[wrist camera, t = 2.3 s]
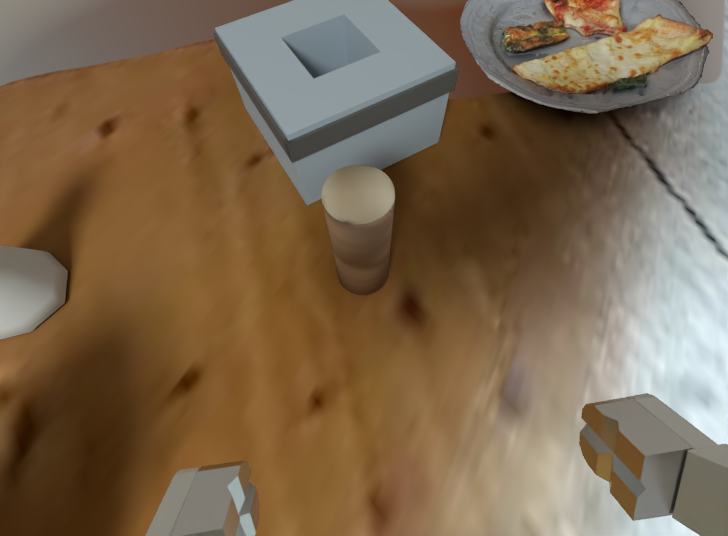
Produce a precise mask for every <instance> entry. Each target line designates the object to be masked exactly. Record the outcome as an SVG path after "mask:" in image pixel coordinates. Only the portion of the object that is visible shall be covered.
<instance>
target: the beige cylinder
mask: <svg viewBox="0 0 728 536" xmlns="http://www.w3.org/2000/svg"><path fill="white" fill-rule="evenodd" d="M321 198H322V203H323V208H324V212H325V217H326V222H327V226H328V231H329V235H330V240H331V245H332V249H333V254H334V259H335V263H336V268H337V272H338V277H339V280H340V282H341V284H342V285H343V287H344V288H345V289H347V290H348V291H350V292H352V293H354V294H358V295H367V294H371V293H374V292H376V291H378V290H379V289H380V288H382V286H383V285H384V284H385V282H386V280H387V278H388V271H389V259H390V248H391V236H392V225H393V214H394V202H395V188H394V185H393V183H392V181H391V179H390V178H389V177H388V176H387V175H386V174H385V173H384V172H383V171H381V170H379V169H377V168H375V167H372V166H368V165H350V166H346V167H343V168H341V169H339V170H337V171H335V172H334V173H333V174H331V175H330V176H329V177H328V179H327V180H326V181H325V183H324V185H323V188H322V193H321Z"/></svg>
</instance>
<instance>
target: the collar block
mask: <svg viewBox="0 0 728 536" xmlns="http://www.w3.org/2000/svg"><path fill="white" fill-rule="evenodd" d="M215 30H216V32H217V33H214V37H215V39H216V42H217V44H218V47H219V49H220V52H221V54H222V56H223V58H224V59H225V61H226V62H227V64H228V65H229V67H230V69H231V71H232V74H233V76H234V79H235V82H236V84H237V87H238V89H239V92H240V95H241V97H242V100H243V102H244V105H245V108H246V110H247V111H248V113H249V115H250V116H251V118H252V119H253V121H254V122H255V124H256V126H257V127H258V129H259V130H260V132H261V134H262V135H263V137H264V138H265V140H266V141H267V143H268V145H269V146H270V148H271V149H272V151H273V153H274V154H275V156H276V157H277V159H278V160H279V162H280V164H281V165H282V167H283V168H284V170H285V172H286V173H287V175H288V176H289V178H290V179H291V181H292V183H293V184H294V186H295V187H296V189H297V191H298V192H299V194H300V195H301V197H302V199H303V200H304V202H305V203H306V205H309V204H311V203H313V202H315V201H318V200H320V199H322V198H321V193H322V188H323V185H324V183H325V181H326V180H327V179H328V177H329V176H330V175H331V174H333V173H334V172H335V171H337V170H339V169H341V168H343V167H346V166H350V165H368V166H372V167H375V168H377V169H379V170H382V169H384V168H386V167H388V166H390V165H392V164H394V163H396V162H398V161H401V160H403V159H405V158H407V157H409V156H411V155H413V154H415V153H417V152H419V151H421V150H423V149H425V148H428V147H430V146H432V145H434V144H436V143H438V142H439V137H440V133H441V128H442V124H443V119H444V115H445V110H446V105H447V101H448V96H449V92H451V91H453V90H454V89H455V85H456V81H457V76H458V72H459V69H458V68H457V67H456V66H455V64H456V62H455V61H454V60H453V59H452V58H450V57H449V56H448V55H447V54H446V53H445V52H444V51H443V50H442V49H441V48H440V47H438V46H437V45H436V44H435V43H434V42H433V41H432V40H431V39H429V37H427V36H426V35H425V34H424V33H423V32H422V31H421V30H420V29H419V28H418V27H416V26H415V25H414V24H413V23H412V22H411V21H410V20H409V19H408V18H407V17H405V16H404V15H403V14H402V13H401V12H400V11H399V10H398V9H397V8H396V7H394V5H392V4H391V3H390V2H389V1H388V0H294V1H291V2H288V3H285V4H282V5H279V6H277V7H274V8H271V9H268V10H265V11H262V12H260V13H257V14H254V15H251V16H248V17H245V18H243V19H240V20H237V21H234V22H231V23H228V24H226V25H222V26H220V27H217V28H215Z"/></svg>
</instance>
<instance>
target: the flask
mask: <svg viewBox="0 0 728 536" xmlns="http://www.w3.org/2000/svg"><path fill="white" fill-rule="evenodd" d="M67 276H68V270H67V269H66V268H65V267H64V266H63V265H62V264H61V263H59V262H58V261H57V260H56V259H55V258H54V257H53V256H52V255H51V254H50V253H49V252H46V251H40V250H33V249H26V248H19V247H11V246H4V245H0V340H1V339H5V338H9V337H13V336H17V335H21V334H25V333H29V332H31V331H33V330H34V329H35V328H36V327H37V326H38V325H40V324H41V323H42V322H43V321H44V320H46V319H47V318H48V317H49V316H50V315H51V314H53V313H54V312H55V311H56V310H57V309H58V308H60V307H61V306H62V305H63V304H64V303H65V297H66V286H67Z"/></svg>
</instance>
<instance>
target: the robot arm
mask: <svg viewBox="0 0 728 536" xmlns="http://www.w3.org/2000/svg"><path fill="white" fill-rule="evenodd" d="M582 419H583V420H584V421H585V422H586V423H587V424H586V425H585V427H584V428H583V429H582V430H581V432H580V442H579V444H580V447H581V450H582V454H583V456H584V458H585V460H586V462H587V463H588V465H589V466H590V468H591V469H592V470H593V472H594V473H595V474H596V475H598V476H599V477H601V478H603V479H605V480H607V481H608V482H609V485H610V493H611V494H612V495H613V496H614V498H615V499H616V500H617V501H618V503H619V504H620V505H621V506H622V507H623V509H624V510H625V511H626V512H627V514H628V515H629V516H630V517H631V519H632V520H633V521H634V520H641V519H647V518H654V517H661V516H668V515H673V516H672V517H673V518H674V519H676V520H677V521H679V522H680V523H682V524H683V525H685V526H686V527H688V528H689V529H691V530H692V531H694V532H696V533H697V534H699V535H700V536H728V445H727V444H721V445H718V444H716V443H715V442H714V441H712V440H711V439H710V438H709V437H707V436H706V435H705V434H703V433H702V432H701V431H699V430H698V429H697V428H696V427H694V426H693V425H692V424H690V423H689V422H688V421H686V420H685V419H684V418H682V417H681V416H680V415H679V414H677V413H676V412H675V411H673V410H672V409H671V408H669V407H668V406H667V405H666V404H664V403H663V402H662V401H660V400H659V399H658V398H656V397H655V396H653V395H650V394H641V395H635V396H630V397H626V398H618V399H613V400H607V401H601V402H596V403H590V404H586V405H585V406H584V408H583V409H582ZM250 475H251V470H250V467H249V464H248V462H247V461H238V462H230V463H223V464H216V465H208V466H202V467H197V468H190V469H182V470H179V471H178V472H177V473H176V474H175V475H174V477H173V479H172V481H171V483H170V485H169V487H168V489H167V491H166V493H165V495H164V497H163V499H162V501H161V504H160V506H159V508H158V510H157V512H156V514H155V516H154V518H153V520H152V522H151V524H150V526H149V528H148V531H147V533H146V535H145V536H254V535H255V534H256V531H257V525H258V518H259V501H258V494H257V490H256V487H255V486H254V485H253V484H251V483H250V482H249V479H250Z"/></svg>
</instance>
